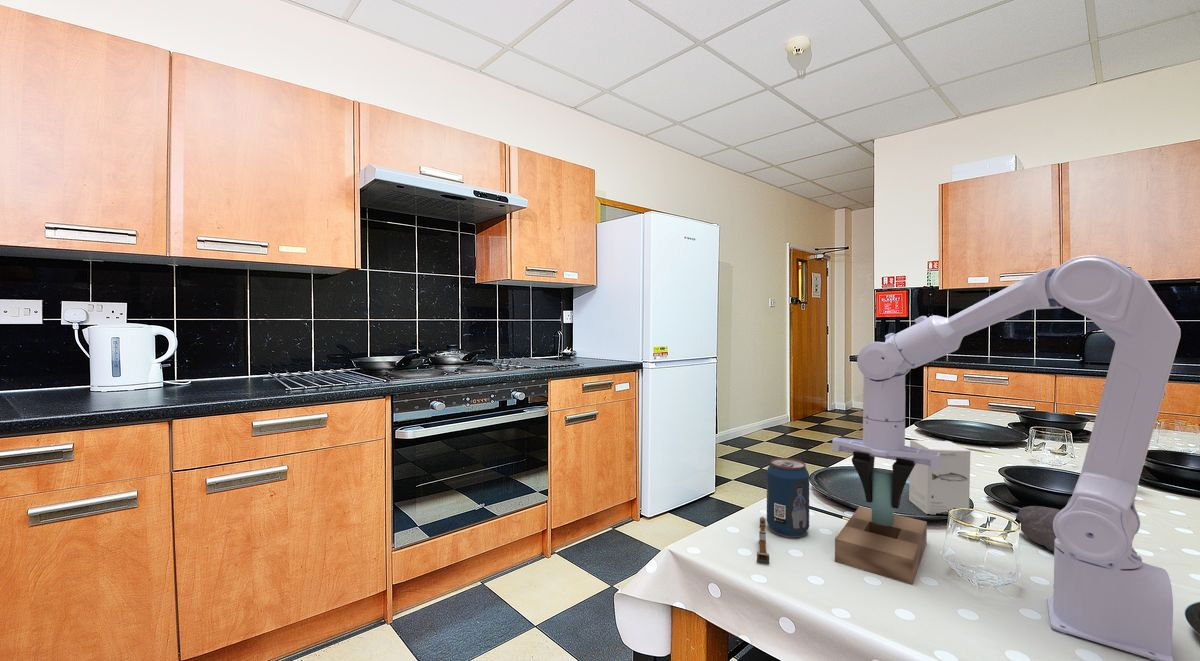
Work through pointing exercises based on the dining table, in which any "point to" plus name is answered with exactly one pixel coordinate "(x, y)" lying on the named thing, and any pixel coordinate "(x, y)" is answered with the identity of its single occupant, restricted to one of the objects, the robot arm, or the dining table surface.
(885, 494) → the peg
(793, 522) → the soda can
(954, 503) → the supplement box
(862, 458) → the robot arm
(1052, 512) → the perforated stone tool
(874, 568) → the hole block
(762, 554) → the brown long banded part
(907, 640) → the dining table surface
